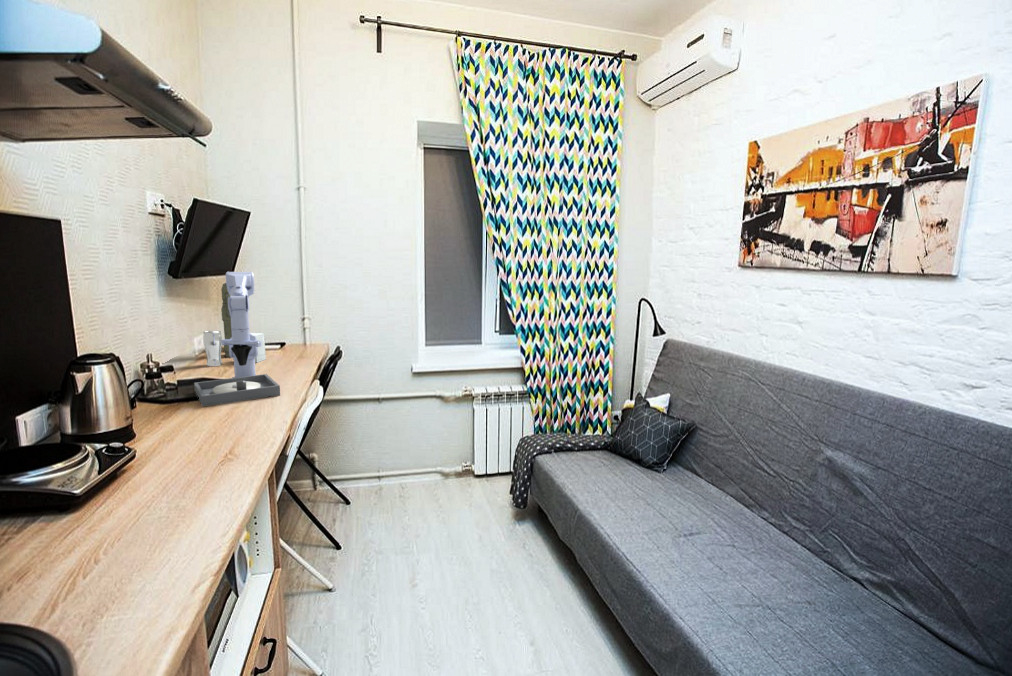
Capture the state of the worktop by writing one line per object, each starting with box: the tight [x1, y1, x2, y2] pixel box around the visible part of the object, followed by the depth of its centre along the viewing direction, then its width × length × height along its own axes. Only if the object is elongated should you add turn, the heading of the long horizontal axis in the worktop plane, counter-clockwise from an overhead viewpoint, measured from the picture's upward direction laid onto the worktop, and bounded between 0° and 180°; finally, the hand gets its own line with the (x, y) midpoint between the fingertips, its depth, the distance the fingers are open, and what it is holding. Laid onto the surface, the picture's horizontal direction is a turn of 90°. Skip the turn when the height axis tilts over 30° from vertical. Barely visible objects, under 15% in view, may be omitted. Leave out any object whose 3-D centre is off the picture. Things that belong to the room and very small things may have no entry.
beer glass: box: [202, 330, 223, 367], centre depth 214 cm, size 7×7×15 cm
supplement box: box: [250, 332, 267, 364], centre depth 224 cm, size 7×7×13 cm
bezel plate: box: [193, 373, 281, 407], centre depth 174 cm, size 20×24×4 cm
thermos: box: [220, 282, 232, 358], centre depth 232 cm, size 9×12×35 cm
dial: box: [213, 380, 261, 394], centre depth 174 cm, size 16×15×5 cm
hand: (242, 365), depth 178 cm, fingers closed
